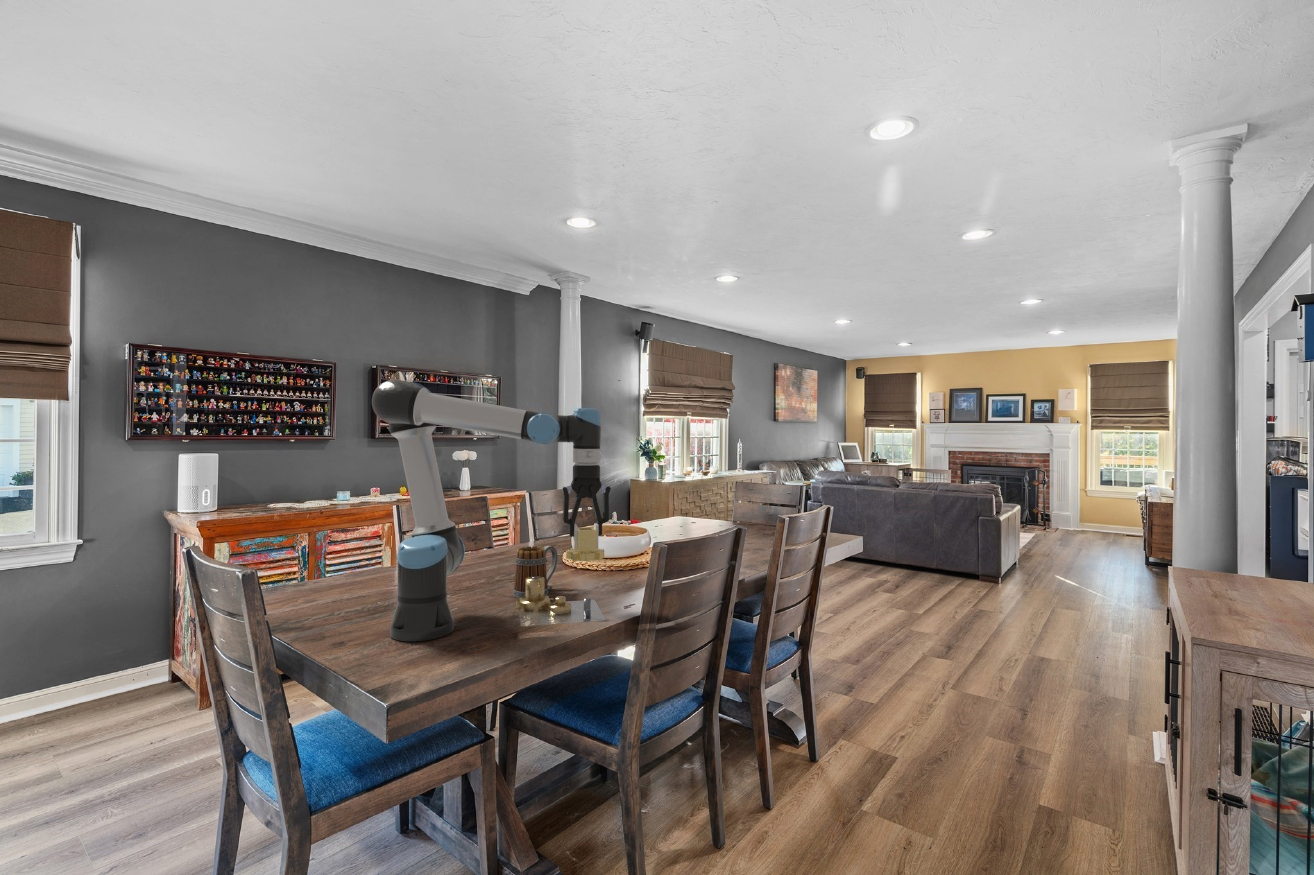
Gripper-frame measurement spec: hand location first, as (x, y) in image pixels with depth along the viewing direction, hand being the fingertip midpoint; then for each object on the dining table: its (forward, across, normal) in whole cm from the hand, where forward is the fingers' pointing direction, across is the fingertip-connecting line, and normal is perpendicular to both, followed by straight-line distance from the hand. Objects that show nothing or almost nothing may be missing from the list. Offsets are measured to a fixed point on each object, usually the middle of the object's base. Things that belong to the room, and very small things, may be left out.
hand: (585, 547), depth 170 cm
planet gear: (+3, 0, 0) cm, 3 cm away
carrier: (+19, -7, 0) cm, 20 cm away
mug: (+19, -11, +22) cm, 31 cm away
